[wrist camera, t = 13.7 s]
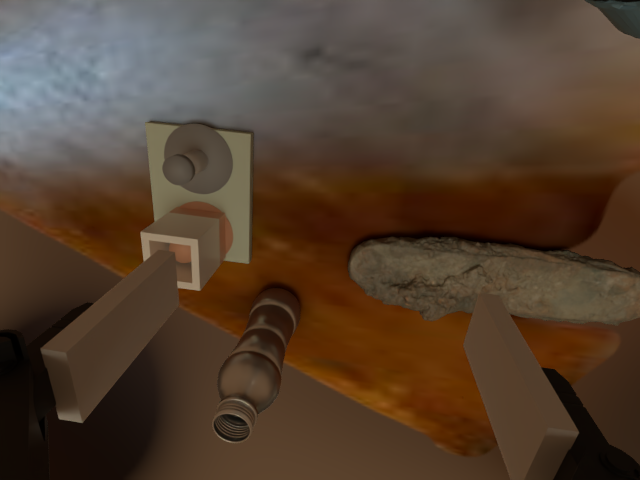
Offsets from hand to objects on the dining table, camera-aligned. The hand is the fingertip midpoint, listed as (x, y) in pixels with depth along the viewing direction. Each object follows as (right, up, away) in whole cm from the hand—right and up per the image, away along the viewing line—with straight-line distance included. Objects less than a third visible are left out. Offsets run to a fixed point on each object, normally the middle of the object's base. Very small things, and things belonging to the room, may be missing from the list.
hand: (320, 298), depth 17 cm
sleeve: (-15, +3, +30) cm, 34 cm away
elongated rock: (+21, -2, +30) cm, 37 cm away
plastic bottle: (-5, -6, +35) cm, 36 cm away
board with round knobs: (-14, +8, +30) cm, 34 cm away
